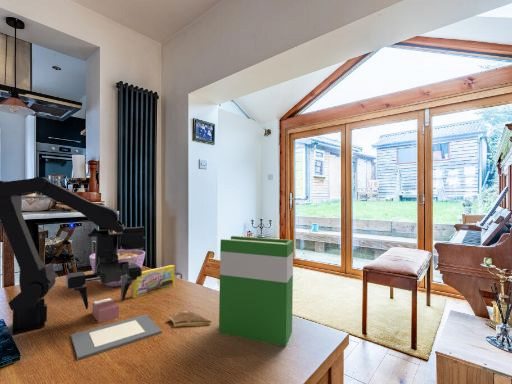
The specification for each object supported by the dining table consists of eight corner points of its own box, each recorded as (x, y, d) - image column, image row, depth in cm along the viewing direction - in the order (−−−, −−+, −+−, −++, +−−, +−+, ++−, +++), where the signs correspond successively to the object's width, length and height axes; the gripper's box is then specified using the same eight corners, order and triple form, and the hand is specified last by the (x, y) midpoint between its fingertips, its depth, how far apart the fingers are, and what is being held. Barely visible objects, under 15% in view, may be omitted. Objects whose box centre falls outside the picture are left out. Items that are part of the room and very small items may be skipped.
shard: (211, 326, 72) (211, 319, 72) (188, 337, 66) (188, 330, 66) (187, 314, 79) (187, 308, 79) (164, 324, 73) (164, 317, 73)
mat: (77, 359, 56) (77, 357, 56) (70, 336, 65) (71, 334, 65) (161, 332, 68) (161, 330, 68) (146, 316, 77) (146, 314, 77)
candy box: (134, 298, 90) (134, 274, 90) (130, 297, 91) (131, 273, 91) (174, 286, 103) (174, 265, 103) (171, 285, 104) (171, 264, 104)
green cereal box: (218, 333, 68) (220, 239, 69) (230, 320, 75) (232, 236, 76) (285, 346, 62) (287, 244, 63) (292, 331, 69) (293, 240, 70)
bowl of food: (106, 295, 92) (107, 262, 92) (78, 285, 102) (78, 255, 103) (155, 280, 109) (155, 252, 109) (126, 272, 119) (127, 247, 120)
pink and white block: (98, 323, 72) (99, 310, 72) (91, 314, 78) (92, 301, 78) (118, 318, 76) (118, 305, 76) (110, 309, 82) (110, 297, 82)
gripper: (71, 260, 65) (69, 324, 65) (148, 251, 77) (147, 305, 77) (66, 253, 74) (64, 309, 73) (136, 246, 86) (135, 294, 85)
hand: (105, 304), depth 77 cm, fingers open, 9 cm apart
